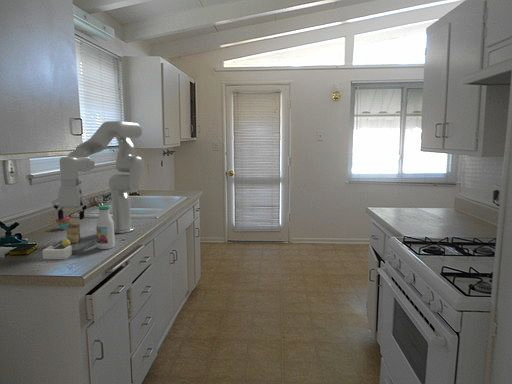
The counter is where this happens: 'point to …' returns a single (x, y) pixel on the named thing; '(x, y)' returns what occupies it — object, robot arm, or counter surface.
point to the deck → (78, 249)
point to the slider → (73, 233)
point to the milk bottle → (105, 229)
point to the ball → (66, 243)
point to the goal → (57, 253)
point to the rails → (61, 244)
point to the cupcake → (64, 222)
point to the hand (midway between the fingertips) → (71, 219)
